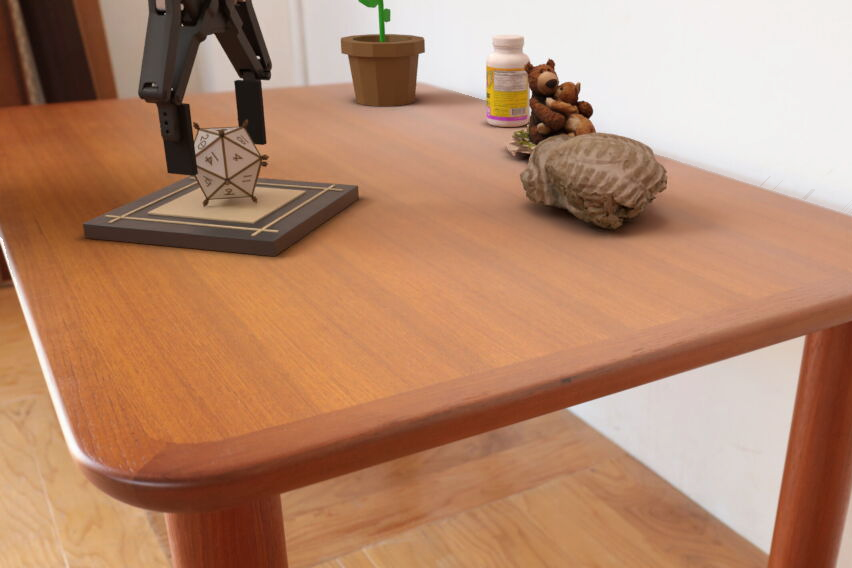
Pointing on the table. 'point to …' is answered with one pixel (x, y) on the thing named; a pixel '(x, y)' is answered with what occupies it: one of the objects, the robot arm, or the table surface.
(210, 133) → the game die
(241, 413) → the table surface
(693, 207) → the table surface
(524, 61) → the supplement bottle
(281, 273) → the table surface
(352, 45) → the flowerpot
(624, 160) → the fossil
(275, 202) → the game board
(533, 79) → the bear figurine
